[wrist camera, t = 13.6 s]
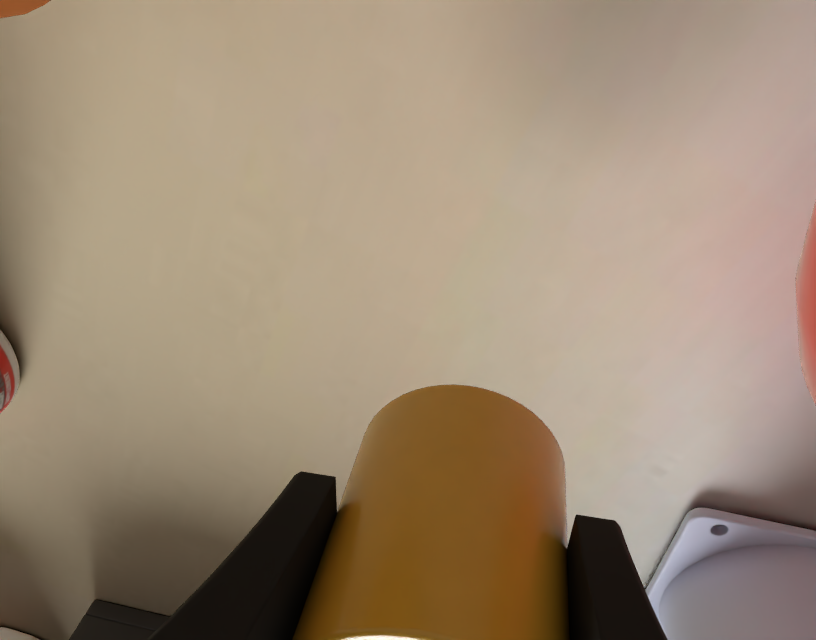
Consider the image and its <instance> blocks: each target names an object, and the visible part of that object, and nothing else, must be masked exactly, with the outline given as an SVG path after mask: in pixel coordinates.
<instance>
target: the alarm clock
mask: <svg viewBox="0 0 816 640" xmlns="http://www.w3.org/2000/svg"><path fill="white" fill-rule="evenodd" d="M49 1H51V0H0V18H4V17H10V16H16V15H22V14H26V13H28V12H30V11H32V10H35V9H37V8H39V7H41V6H43V5H45V4H46V3H48V2H49Z"/></svg>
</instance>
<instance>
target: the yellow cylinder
mask: <svg viewBox="0 0 816 640" xmlns="http://www.w3.org/2000/svg"><path fill="white" fill-rule="evenodd" d="M292 640H570V623H569V597H568V564H567V519H566V485H565V463H564V459H563V455H562V451H561V449H560V447H559V444H558V442H557V440H556V439H555V437H554V436H553V434H552V432H551V431H550V430H549V429H548V427H547V426H546V425H545V424H544V423H543V421H542V420H541V419H539V418H538V417H537V416H536V415H535V414H534V413H533V412H532V411H530V410H529V409H527V408H526V407H524V406H523V405H522V404H520V403H518V402H516V401H514V400H513V399H511V398H509V397H506V396H504V395H502V394H499V393H497V392H493V391H490V390H487V389H483V388H478V387H473V386H466V385H437V386H430V387H425V388H421V389H417V390H414V391H411V392H409V393H406V394H403V395H402V396H400V397H398V398H396V399H394V400H393V401H391V402H390V403H389V404H387V405H386V406H385V407H383V408H382V409H381V410H380V411H379V412H378V413H377V414H376V415H375V417H374V418H373V419H372V421H371V422H370V424H369V426H368V428H367V430H366V432H365V435H364V437H363V440H362V443H361V446H360V449H359V451H358V454H357V457H356V460H355V463H354V465H353V468H352V471H351V474H350V477H349V480H348V482H347V485H346V488H345V491H344V494H343V496H342V499H341V502H340V505H339V508H338V511H337V513H336V516H335V519H334V522H333V525H332V528H331V530H330V533H329V536H328V539H327V542H326V545H325V547H324V550H323V553H322V556H321V559H320V562H319V564H318V567H317V570H316V572H315V575H314V578H313V581H312V584H311V587H310V589H309V592H308V595H307V598H306V601H305V603H304V606H303V609H302V612H301V615H300V617H299V620H298V623H297V626H296V629H295V632H294V634H293V637H292Z"/></svg>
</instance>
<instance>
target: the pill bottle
mask: <svg viewBox="0 0 816 640" xmlns="http://www.w3.org/2000/svg"><path fill="white" fill-rule="evenodd" d="M19 380H20V371H19V365H18V361H17V358H16V355H15V353H14V350H13V348H12V346H11V344H10V343H9V341H8V340H7V338H6V336H5V335H4V334H3V332H2V331H1V330H0V413H1V412H2V411H3V410H4V409H5V408H6V407H7V406H8V405H9V403H10V402H11V401H12V400H13V398H14V396H15V394H16V392H17V390H18V387H19Z"/></svg>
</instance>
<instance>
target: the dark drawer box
mask: <svg viewBox="0 0 816 640" xmlns="http://www.w3.org/2000/svg"><path fill="white" fill-rule="evenodd" d="M169 618H170V617H167V616H163V615H158V614H154V613H150V612H146V611H142V610H137V609H133V608H129V607H125V606H120V605H116V604H112V603H108V602H104V601H99V600H94V601H93V603H92V605H91V606H90V608H89V609H88V611H87V612H86V615H84V617H83V618H82V620H81V622H80V623H79V625H78V626H77V628H76V629H75V631H74V633H73V634H72V636H71V637H70V639H69V640H147V639H148V638H149V637H150V636H151V635H152V634H153V633H154V632H155V631H156V630H157V629H158V628H159V627H160V626H161V625H162V624H163V623H164V622H166V621H167V620H168V619H169Z"/></svg>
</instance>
